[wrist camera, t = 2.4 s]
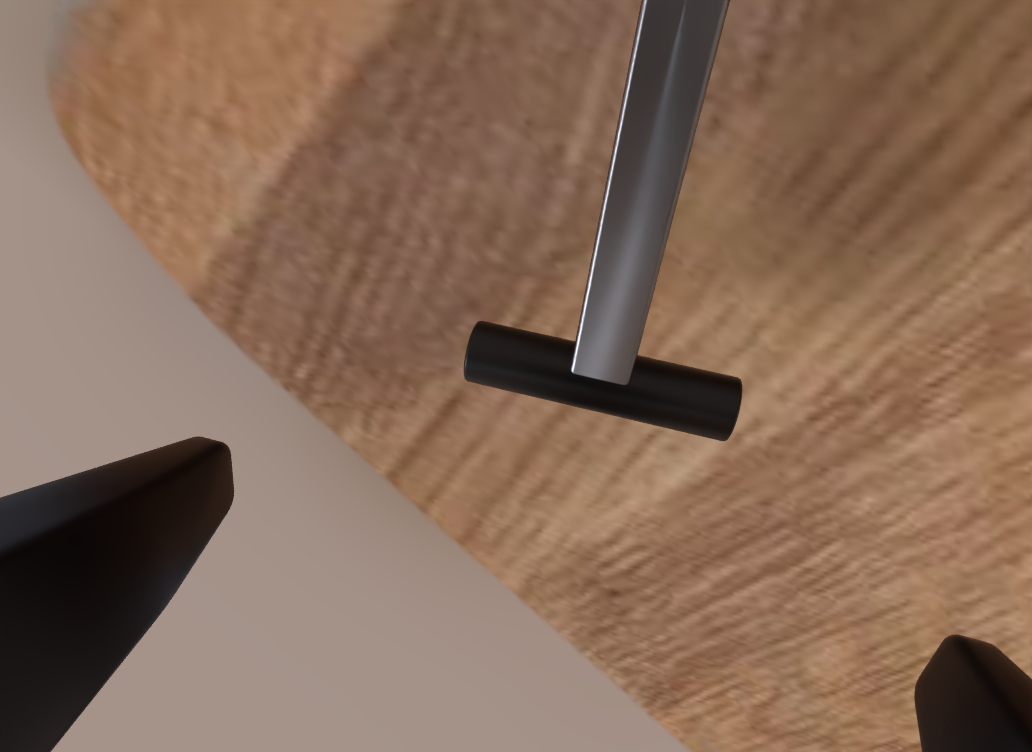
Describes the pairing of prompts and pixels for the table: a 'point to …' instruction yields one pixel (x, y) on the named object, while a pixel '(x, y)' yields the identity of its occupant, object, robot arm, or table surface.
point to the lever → (630, 250)
